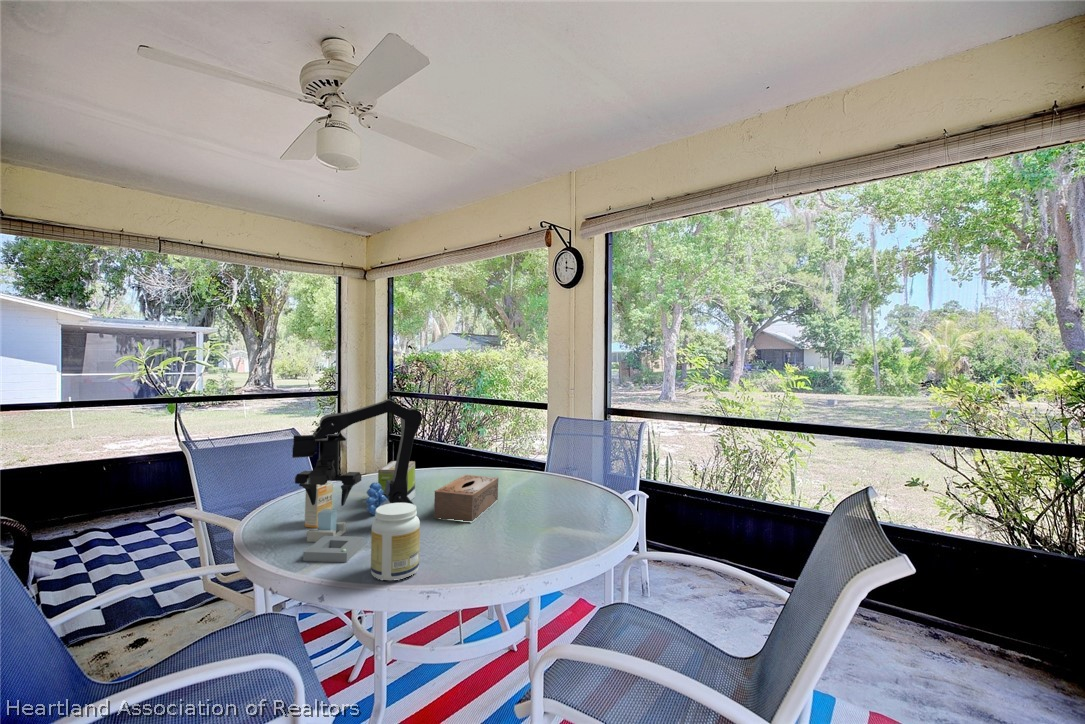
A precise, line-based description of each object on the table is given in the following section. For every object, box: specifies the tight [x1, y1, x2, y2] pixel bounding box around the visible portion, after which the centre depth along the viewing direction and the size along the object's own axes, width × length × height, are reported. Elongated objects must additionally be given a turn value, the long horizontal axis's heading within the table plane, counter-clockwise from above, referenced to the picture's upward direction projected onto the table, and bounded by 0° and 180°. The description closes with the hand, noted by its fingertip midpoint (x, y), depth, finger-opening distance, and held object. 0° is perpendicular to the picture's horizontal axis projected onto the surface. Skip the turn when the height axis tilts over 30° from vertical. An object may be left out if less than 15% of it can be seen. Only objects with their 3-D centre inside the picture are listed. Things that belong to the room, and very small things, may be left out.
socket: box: [302, 535, 365, 563], centre depth 135 cm, size 12×12×3 cm
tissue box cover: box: [433, 474, 499, 521], centre depth 177 cm, size 26×14×10 cm, turn 165°
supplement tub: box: [370, 503, 421, 581], centre depth 124 cm, size 12×12×17 cm
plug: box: [317, 508, 338, 530], centre depth 147 cm, size 4×4×8 cm
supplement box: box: [304, 481, 334, 529], centre depth 159 cm, size 8×5×13 cm, turn 168°
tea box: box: [377, 460, 416, 506], centre depth 184 cm, size 15×10×15 cm
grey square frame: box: [306, 521, 347, 543], centre depth 147 cm, size 8×9×3 cm
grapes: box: [365, 482, 387, 516], centre depth 168 cm, size 12×7×12 cm, turn 178°
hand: (328, 505), depth 148 cm, fingers open, 9 cm apart
